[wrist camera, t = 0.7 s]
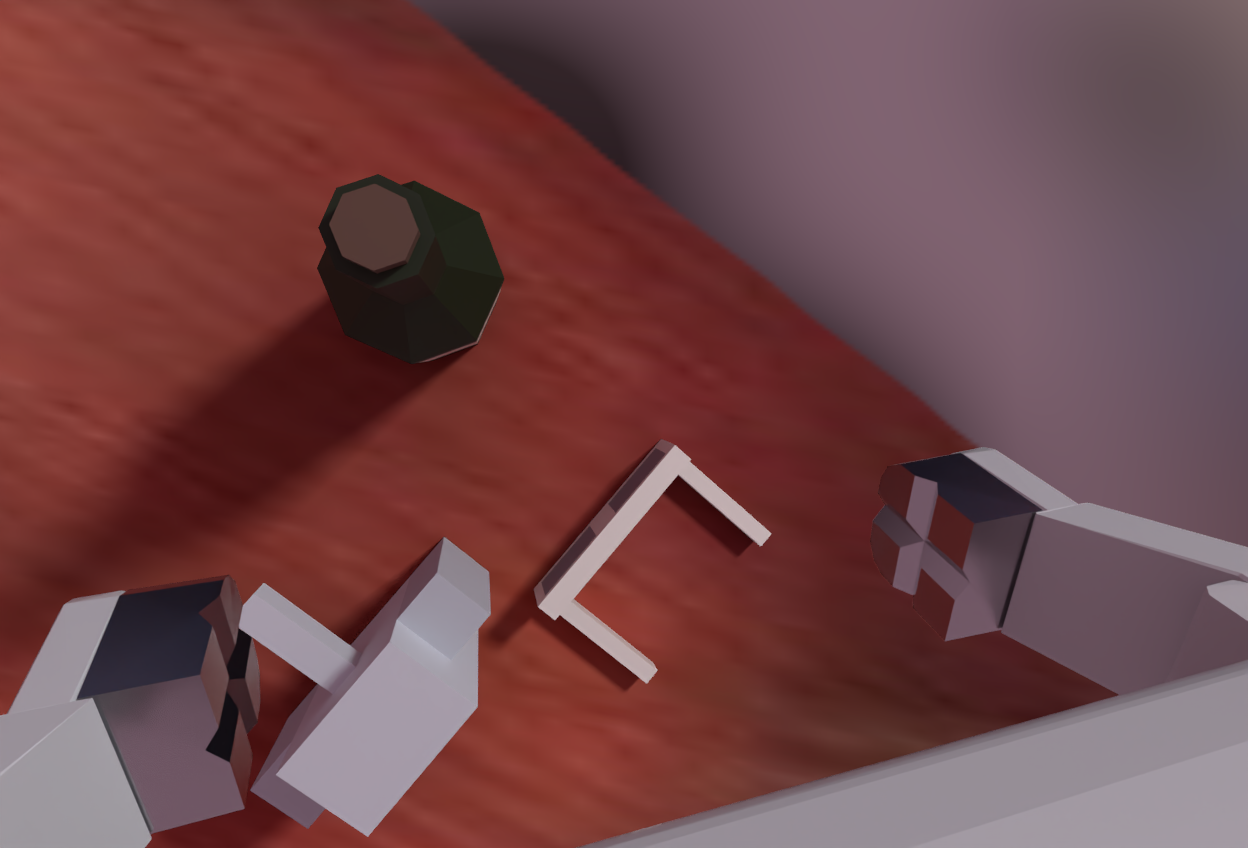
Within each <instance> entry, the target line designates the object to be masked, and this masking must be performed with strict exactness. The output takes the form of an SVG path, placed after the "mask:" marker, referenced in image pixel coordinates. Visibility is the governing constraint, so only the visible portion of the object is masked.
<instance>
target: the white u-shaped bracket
mask: <svg viewBox="0 0 1248 848" xmlns="http://www.w3.org/2000/svg"><path fill="white" fill-rule="evenodd" d="M690 460H691V459H690V458H689V457H688V456H687V455H686V454H684V453H683V452H682V451H681V450H680V449H679V448H678V447H677V446H675V445H674V444H671V443H669V442H667V441H665V440H663V439H661V440H660V441H659V442H658V443H657V444H656V446H655V447H654V448H653V449H652V450H651V451H650V453H649V454H648V455H647V456H646V457H645V458H644V460H643V461H642V462H641V463H640V464H639V466H638V467H637V468H636V469H635V470H634V471H633V473H632V474H631V475H630V476H629V477H628V478H627V480H626V481H625V482H624V483H623V484H622V486H621V487H620V488H619V489H618V490H617V491H616V493H615V494H614V495H613V496H612V497H611V498H610V500H609V501H608V502H607V503H606V504H605V506H604V507H603V508H602V509H601V510H600V511H599V513H598V514H597V515H596V516H595V517H594V518H593V520H592V521H591V522H590V523H589V524H588V526H587V527H586V528H585V529H584V530H583V531H582V533H581V534H580V535H579V536H578V537H577V539H576V540H575V541H574V542H573V543H572V544H571V546H570V547H569V548H568V549H567V550H566V551H565V553H564V554H563V555H562V556H561V557H560V559H559V560H558V561H557V562H556V563H555V564H554V566H553V567H552V568H551V569H550V570H549V571H548V573H547V574H546V575H545V576H544V577H543V579H542V580H541V581H540V582H539V583H538V584H537V586H536V587H535V588H534V593H535V597H536V601H537V606H538V607H539V608H540V609H541V610H542V611H544V612H545V613H546V614H547V615H549V616H550V617H551V618H553V619H554V620H556V619H557V618H558V616H559V615H561V616H562V617H563V618H564V619H566V620H567V621H568V622H569V623H571V624H572V625H573V626H575V627H576V628H577V629H578V630H580V631H581V632H582V633H583V634H585V635H586V636H587V637H588V638H590V639H591V640H592V641H594V642H595V643H596V644H597V645H599V646H600V647H601V648H602V649H604V650H605V651H606V652H607V653H609V654H610V655H611V656H612V657H614V658H615V659H616V660H618V661H619V662H620V663H621V664H623V665H624V666H625V667H626V668H628V669H629V670H630V671H631V672H633V673H634V674H635V675H637V676H638V677H639V678H640V679H642V680H643V681H644V682H645V683H648V681H649V680H650V679H651V678H652V677H653V675H654V674H655V673H656V672H657V671H658V670H657V669H656V667H655V665H654V663H653V662H652V661H651V660H649V659H648V658H647V657H646V656H644V655H643V654H642V653H641V652H639V651H638V650H637V649H636V648H634V647H633V646H632V645H631V644H629V643H628V642H627V641H626V640H624V639H623V638H622V637H621V636H619V635H618V634H617V633H616V632H614V631H613V630H612V629H611V628H609V627H608V626H607V625H606V624H604V623H603V622H602V621H601V620H599V619H598V618H597V617H596V616H594V615H593V614H592V613H590V612H589V611H588V610H587V609H585V608H584V607H583V606H582V605H580V604H579V603H578V602H577V601H575V600H574V597H575V596H576V595H577V594H578V593H579V592H580V590H581V589H582V588H583V587H584V586H585V584H586V583H587V582H588V581H589V580H590V579H591V577H592V576H593V575H594V574H595V573H596V571H597V570H598V569H599V568H600V567H601V566H602V564H603V563H604V562H605V561H606V560H607V558H608V557H609V556H610V555H611V554H612V552H613V551H614V550H615V549H616V548H617V547H618V545H619V544H620V543H621V542H622V541H623V539H624V538H625V537H626V536H627V535H628V534H629V532H630V531H631V530H632V529H633V528H634V526H635V525H636V524H637V523H638V522H639V521H640V519H641V518H642V517H643V516H644V515H645V513H646V512H647V511H648V510H649V509H650V508H651V506H652V505H653V504H654V503H655V502H656V500H657V499H658V498H659V497H660V496H661V495H662V493H663V492H664V491H665V490H666V489H667V487H668V486H669V485H670V484H671V483H672V482H673V480H674V479H675V478H676V477H677V476H679V477H680V478H681V479H683V480H684V481H685V482H686V483H687V484H688V485H690V486H691V487H692V488H693V489H694V490H695V491H696V492H698V493H699V494H700V495H701V496H702V497H703V498H704V499H706V500H707V501H708V502H709V503H710V504H711V505H712V506H714V507H715V508H716V509H717V510H718V511H719V512H721V513H722V514H723V515H724V516H725V517H726V518H727V519H729V520H730V521H731V522H732V523H733V524H734V525H735V526H737V527H738V528H739V529H740V530H741V531H742V532H743V533H745V534H746V535H747V536H748V537H749V538H750V539H752V540H753V541H754V542H755V543H757V544H758V545H760V546H762V545H763V543H764V542H765V541H766V540H767V539H768V537H769V536H770V535H771V533H770V532H769V531H768V530H767V529H766V528H764V527H763V526H762V525H761V524H760V523H759V522H758V521H757V520H755V519H754V518H753V517H752V516H751V515H750V514H749V513H747V512H746V511H745V510H744V509H743V508H742V507H741V506H739V505H738V504H737V503H736V502H735V501H734V500H733V499H732V498H730V497H729V496H728V495H727V494H726V493H725V492H724V491H722V490H721V489H720V488H719V487H718V486H717V485H716V484H714V483H713V482H712V481H711V480H710V479H709V478H708V477H707V476H705V475H704V474H703V473H702V472H701V471H700V470H699V469H697V468H696V467H695V466H694V465H693V464H692V463H691V462H689V461H690Z"/></svg>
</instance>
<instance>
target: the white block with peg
mask: <svg viewBox="0 0 1248 848" xmlns="http://www.w3.org/2000/svg"><path fill="white" fill-rule="evenodd" d="M490 614H491V609H490V586H489V572H488V571H487V570H486V569H484V568H483V567H482V566H481V565H479V564H478V563H477V562H476V561H474V560H473V559H472V558H470V557H469V556H468V555H467V554H465V553H464V552H463V551H462V550H460V549H459V548H458V547H456V546H455V545H454V544H453V543H451V542H450V541H449V540H448V539H446V538H445V537H443V539H442V540H441V541H440V542H439V543H438V544H437V546H436V547H435V548H434V549H433V550H432V551H431V553H430V554H429V555H428V556H427V557H426V558H425V559H424V561H423V562H422V563H421V564H420V565H419V566H418V568H417V569H416V570H415V571H414V572H413V573H412V575H411V576H410V577H409V578H408V579H407V580H406V582H405V583H404V584H403V585H402V586H401V587H400V589H399V590H398V591H397V592H396V593H395V594H394V595H393V597H392V598H391V599H390V600H389V601H388V602H387V604H386V605H385V606H384V607H383V608H382V609H381V611H380V612H379V613H378V614H377V615H376V616H375V618H374V619H373V620H372V621H371V622H370V623H369V624H368V626H367V627H366V628H365V629H364V630H363V631H362V633H361V634H360V635H359V636H358V637H357V638H356V640H355V641H354V642H353V643H352V644H351V645H349V644H347V643H346V642H345V641H343V640H342V639H340V638H339V637H338V636H336V635H335V634H334V633H332V632H331V631H329V630H328V629H327V628H325V627H324V626H323V625H321V624H320V623H318V622H317V621H316V620H314V619H313V618H312V617H310V616H309V615H307V614H306V613H305V612H303V611H302V610H301V609H299V608H298V607H297V606H295V605H294V604H292V603H291V602H290V601H288V600H287V599H286V598H284V597H283V596H281V595H280V594H279V593H277V592H276V591H275V590H273V589H272V588H270V587H269V586H268V585H266V584H265V583H263V584H262V585H261V587H260V588H259V589H258V590H257V591H256V592H255V593H254V594H253V595H252V596H251V597H250V599H249V600H248V601H247V602H246V603H245V604H244V605H243V607H242V613H241V618H240V623H239V628H240V629H242V630H243V631H244V632H246V633H247V634H249V635H250V636H252V637H253V638H254V639H256V640H257V641H259V642H260V643H261V644H263V645H264V646H266V647H267V648H268V649H270V650H271V651H273V652H274V653H275V654H277V655H278V656H280V657H281V658H282V659H284V660H285V661H287V662H288V663H290V664H291V665H292V666H294V667H295V668H297V669H298V670H299V671H301V672H302V673H304V674H305V675H306V676H308V677H309V678H311V679H312V680H313V681H315V682H316V683H318V684H317V685H316V686H315V687H314V688H313V689H312V691H311V692H310V693H309V694H308V695H307V696H306V698H305V699H304V700H303V701H302V702H301V703H300V705H299V706H298V707H297V708H296V709H295V710H294V712H293V713H292V714H291V715H290V716H289V717H288V719H287V721H286V723H285V725H284V727H283V729H282V731H281V732H280V734H279V736H278V738H277V740H276V742H275V744H274V746H273V748H272V750H271V751H270V753H269V755H268V757H267V759H266V761H265V763H264V765H263V767H262V769H261V770H260V772H259V774H258V776H257V778H256V780H255V782H254V784H253V786H252V788H251V789H250V791H252V792H253V793H255V794H256V795H258V796H259V797H261V798H262V799H264V800H265V801H267V802H268V803H270V804H271V805H273V806H274V807H276V808H277V809H279V810H280V811H282V812H283V813H285V814H286V815H288V816H289V817H291V818H292V819H294V820H295V821H297V822H298V823H300V824H301V825H303V826H304V827H306V828H307V829H308V828H309V827H310V826H311V825H312V823H313V822H314V821H315V820H316V819H317V818H318V816H319V815H320V814H321V813H322V812H323V810H324V809H325V808H326V809H327V810H329V811H330V812H332V813H333V814H335V815H336V816H338V817H339V818H341V819H342V820H344V821H345V822H347V823H348V824H350V825H351V826H352V827H354V828H355V829H357V830H358V831H360V832H361V833H363V834H364V835H366V836H367V837H368V836H369V835H370V833H371V832H372V831H373V830H374V829H375V828H376V826H377V825H378V824H379V823H380V822H381V820H382V819H383V818H384V817H385V816H386V815H387V813H388V812H389V811H390V810H391V809H392V807H393V806H394V805H395V804H396V803H397V802H398V800H399V799H400V798H401V797H402V796H403V794H404V793H405V792H406V791H407V790H408V789H409V787H410V786H411V785H412V784H413V783H414V781H415V780H416V779H417V778H418V777H419V776H420V774H421V773H422V772H423V771H424V770H425V768H426V767H427V766H428V765H429V764H430V763H431V761H432V760H433V759H434V758H435V757H436V755H437V754H438V753H439V752H440V751H441V750H442V748H443V747H444V746H445V745H446V744H447V742H448V741H449V740H450V739H451V738H452V737H453V735H454V734H455V733H456V732H457V731H458V729H459V728H460V727H461V726H462V725H463V724H464V722H465V721H466V720H467V719H468V718H469V716H470V715H471V714H472V713H473V712H474V711H475V709H476V708H477V707H478V629H479V627H480V626H481V625H482V624H483V623H484V621H485V620H486V619H487V618H488V617H489V616H490Z"/></svg>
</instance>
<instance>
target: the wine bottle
mask: <svg viewBox="0 0 1248 848" xmlns="http://www.w3.org/2000/svg"><path fill="white" fill-rule="evenodd" d="M319 230H320V233H321V235H322V237H323V240H324V242H325V245H326V249H325V251H324V254H323V256H322V258H321V260H320V263H319V265H318V267H317V269H318V271H319V273H320V276H321V278H322V281H323V283H324V285H325V288H326V290H327V293H328V295H329V297H330V300H331V302H332V305H333V307H334V310H335V312H336V314H337V317H338V319H339V322H340V324H341V326H342V329H343V331H344V334H345V335H347V336H349V337H351V338H353V339H356V340H358V341H360V342H363V343H365V344H367V345H369V346H372V347H374V348H376V349H378V350H381V351H383V352H385V353H387V354H390V355H392V356H394V357H397V358H399V359H401V360H403V361H406V362H408V363H410V364H414V363H421V362H427V361H433V360H436V359H438V358H441V357H444V356H446V355H449V354H452V353H455V352H457V351H460V350H463V349H466V348H468V347H471V346H474V345H477V344H478V342H479V340H480V337H481V335H482V333H483V331H484V328H485V326H486V324H487V322H488V320H489V317H490V315H491V313H492V311H493V309H494V306H495V304H496V302H497V299H498V296H499V293H500V290H501V287H502V284H503V281H504V276H503V274H502V271H501V269H500V266H499V263H498V261H497V258H496V255H495V253H494V250H493V247H492V245H491V242H490V240H489V237H488V234H487V232H486V229H485V226H484V224H483V221H482V218H481V216H480V213H479V212H477V211H475V210H473V209H471V208H469V207H467V206H465V205H463V204H461V203H459V202H457V201H454V200H452V199H450V198H448V197H446V196H444V195H442V194H440V193H438V192H436V191H434V190H432V189H430V188H428V187H426V186H424V185H422V184H420V183H418V182H416V181H412V182H409V183H406V184H403V185H400V184H398V183H396V182H394V181H391V180H389V179H387V178H385V177H383V176H381V175H379V174H378V175H375V176H371V177H368V178H365V179H362V180H359V181H356V182H353V183H350V184H347V185H344V186H341V187H338V188H336V190H335V192H334V194H333V197H332V199H331V201H330V203H329V206H328V208H327V210H326V212H325V214H324V217H323V219H322V221H321V223H320V226H319Z"/></svg>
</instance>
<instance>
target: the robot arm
mask: <svg viewBox="0 0 1248 848" xmlns="http://www.w3.org/2000/svg"><path fill="white" fill-rule="evenodd" d="M878 495H879V496H880V498H881V499H882V501H883V503H884V504H885V506H884V507H883V508H882V510H881V511H880V512H879V513H878V515H877V516H876V517H875V519H874V520H873V523H872V530H871V538H870V544H871V548H872V553H873V558H874V561H875V563H876V565H877V567H878V569H879V571H880V573H881V574H882V576H883V577H884V578H885V579H886V580H887V581H888V582H889V583H890V584H891V585H892V586H893V587H895V588H897V589H900V590H902V591H904V592H907V593H909V594H911V595H913V609H914V610H915V611H916V612H917V613H918V614H919V615H920V616H921V617H922V618H923V619H924V620H925V621H926V622H927V623H928V624H929V625H930V626H931V627H932V628H933V629H934V630H935V631H936V632H937V633H938V635H939V636H940V637H941V638H942V639H943V640H944V641H948V640H953V639H958V638H963V637H968V636H972V635H977V634H982V633H987V632H992V631H997V630H1001V629H1002V631H1001V633H1003V634H1005V635H1007V636H1009V637H1011V638H1013V639H1014V640H1016V641H1018V642H1020V643H1022V644H1024V645H1026V646H1028V647H1030V648H1032V649H1033V650H1035V651H1037V652H1039V653H1041V654H1043V655H1045V656H1047V657H1049V658H1051V659H1052V660H1054V661H1056V662H1058V663H1060V664H1062V665H1064V666H1066V667H1068V668H1070V669H1071V670H1073V671H1075V672H1077V673H1079V674H1081V675H1083V676H1085V677H1087V678H1089V679H1090V680H1092V681H1094V682H1096V683H1098V684H1100V685H1102V686H1104V687H1106V688H1108V689H1109V690H1111V691H1113V692H1115V693H1117V694H1119V696H1115V697H1112V698H1108V699H1105V700H1101V701H1098V702H1094V703H1090V704H1087V705H1083V706H1080V707H1076V708H1073V709H1069V710H1065V711H1062V712H1058V713H1055V714H1051V715H1048V716H1044V717H1040V718H1037V719H1033V720H1030V721H1026V722H1023V723H1019V724H1015V725H1012V726H1008V727H1005V728H1001V729H998V730H994V731H990V732H987V733H983V734H980V735H976V736H973V737H969V738H965V739H962V740H958V741H955V742H951V743H948V744H944V745H940V746H937V747H933V748H930V749H926V750H923V751H919V752H915V753H912V754H908V755H905V756H901V757H898V758H894V759H890V760H887V761H883V762H880V763H876V764H873V765H869V766H865V767H862V768H858V769H855V770H851V771H847V772H844V773H840V774H837V775H833V776H830V777H826V778H822V779H819V780H815V781H812V782H808V783H805V784H801V785H797V786H794V787H790V788H787V789H783V790H780V791H776V792H772V793H769V794H765V795H762V796H758V797H754V798H751V799H747V800H744V801H740V802H737V803H733V804H729V805H726V806H722V807H719V808H715V809H712V810H708V811H704V812H701V813H697V814H694V815H690V816H687V817H683V818H679V819H676V820H672V821H669V822H665V823H662V824H658V825H654V826H651V827H647V828H644V829H640V830H637V831H633V832H630V833H626V834H622V835H619V836H615V837H612V838H608V839H605V840H601V841H598V842H594V843H591V844H587V845H583V846H580V847H576V848H1248V547H1244V546H1241V545H1237V544H1234V543H1230V542H1226V541H1223V540H1219V539H1216V538H1212V537H1209V536H1205V535H1202V534H1198V533H1195V532H1191V531H1187V530H1184V529H1180V528H1177V527H1173V526H1169V525H1166V524H1163V523H1159V522H1155V521H1151V520H1148V519H1145V518H1141V517H1137V516H1134V515H1130V514H1127V513H1123V512H1120V511H1116V510H1113V509H1109V508H1105V507H1102V506H1098V505H1095V504H1091V503H1083V504H1077V503H1076V502H1074V501H1073V500H1071V499H1070V498H1068V497H1067V496H1065V495H1064V494H1062V493H1061V492H1059V491H1058V490H1056V489H1055V488H1053V487H1052V486H1050V485H1048V484H1047V483H1045V482H1044V481H1042V480H1041V479H1039V478H1038V477H1036V476H1035V475H1033V474H1032V473H1030V472H1029V471H1027V470H1026V469H1024V468H1023V467H1021V466H1020V465H1018V464H1017V463H1015V462H1014V461H1012V460H1011V459H1009V458H1008V457H1006V456H1004V455H1003V454H1001V453H1000V452H998V451H997V450H994V449H990V448H985V447H982V448H977V449H972V450H967V451H962V452H957V453H952V454H951V455H946V456H940V457H935V458H929V459H924V460H918V461H913V462H907V463H902V464H897V465H891V466H887V468H886V469H885V471H884V473H883V474H882V476H881V479H880V484H879V489H878ZM242 607H243V604H242V601H241V598H240V595H239V592H238V589H237V585H236V582H235V581H234V580H233V579H232V578H231V576H230V575H224V576H218V577H211V578H204V579H197V580H190V581H184V582H177V583H170V584H163V585H157V586H150V587H143V588H136V589H129V590H127V591H116V592H110V593H104V594H98V595H92V596H86V597H80V598H75V599H73V600H71V601H69V602H67V603H66V604H64V605H63V607H62V608H61V610H60V612H59V614H58V616H57V617H56V619H55V621H54V623H53V625H52V627H51V629H50V631H49V633H48V635H47V637H46V639H45V641H44V643H43V645H42V647H41V648H40V650H39V652H38V654H37V656H36V658H35V660H34V662H33V664H32V666H31V668H30V670H29V672H28V674H27V676H26V678H25V679H24V681H23V683H22V685H21V687H20V689H19V691H18V693H17V695H16V697H15V699H14V701H13V703H12V705H11V707H10V708H9V710H8V712H7V714H6V715H1V716H0V848H145V847H146V846H147V844H148V843H149V842H150V840H151V839H152V838H151V835H150V834H152V833H156V832H160V831H163V830H167V829H171V828H175V827H178V826H182V825H186V824H190V823H193V822H197V821H201V820H205V819H209V818H212V817H216V816H220V815H224V814H227V813H231V812H235V811H239V810H242V809H245V804H246V797H247V791H248V784H249V778H250V771H251V764H252V758H253V754H252V751H251V748H250V744H249V741H248V737H247V733H248V732H249V731H250V730H251V729H252V728H253V727H254V726H255V725H256V723H257V722H258V715H259V707H260V673H259V667H258V661H257V655H256V651H255V647H254V643H253V640H252V637H251V636H250V635H248V634H247V633H245V632H244V631H242V630H241V629H239V623H240V618H241V613H242Z"/></svg>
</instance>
